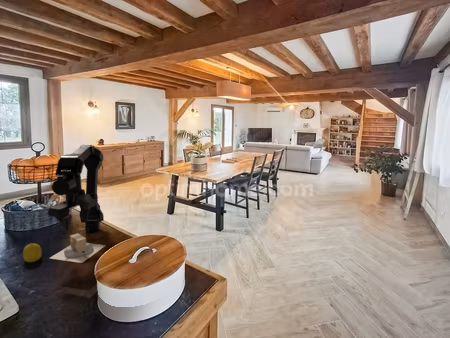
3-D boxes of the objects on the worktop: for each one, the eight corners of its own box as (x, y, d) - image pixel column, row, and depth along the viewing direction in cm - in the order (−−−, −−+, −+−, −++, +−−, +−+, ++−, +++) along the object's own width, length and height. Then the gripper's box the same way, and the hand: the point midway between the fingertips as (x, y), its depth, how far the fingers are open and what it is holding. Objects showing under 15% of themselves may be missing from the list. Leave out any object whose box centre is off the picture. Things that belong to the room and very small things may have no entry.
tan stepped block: (60, 251, 102) (58, 237, 101) (86, 242, 110) (85, 229, 109) (70, 260, 96) (69, 245, 95) (97, 250, 104) (96, 236, 103)
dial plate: (76, 244, 111) (76, 241, 111) (106, 248, 109) (105, 245, 108) (49, 261, 98) (49, 257, 97) (82, 266, 95) (81, 262, 95)
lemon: (32, 268, 93) (30, 247, 92) (20, 265, 94) (17, 245, 93) (46, 260, 99) (44, 240, 97) (34, 258, 100) (31, 239, 98)
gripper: (70, 196, 89) (73, 238, 92) (107, 184, 107) (109, 219, 110) (44, 193, 92) (49, 234, 95) (85, 181, 109) (87, 216, 112)
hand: (76, 225), depth 103 cm, fingers open, 9 cm apart
